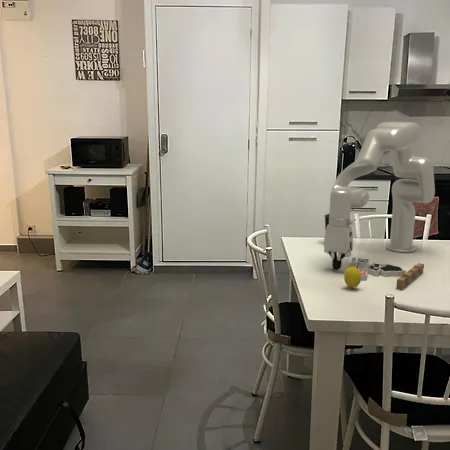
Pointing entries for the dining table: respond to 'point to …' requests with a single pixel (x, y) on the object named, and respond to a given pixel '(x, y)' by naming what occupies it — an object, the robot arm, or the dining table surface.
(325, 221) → the drinking cup
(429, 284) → the dining table surface
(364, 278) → the decorative sign
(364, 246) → the dining table surface
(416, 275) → the walnut ledge
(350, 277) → the lemon
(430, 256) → the dining table surface
